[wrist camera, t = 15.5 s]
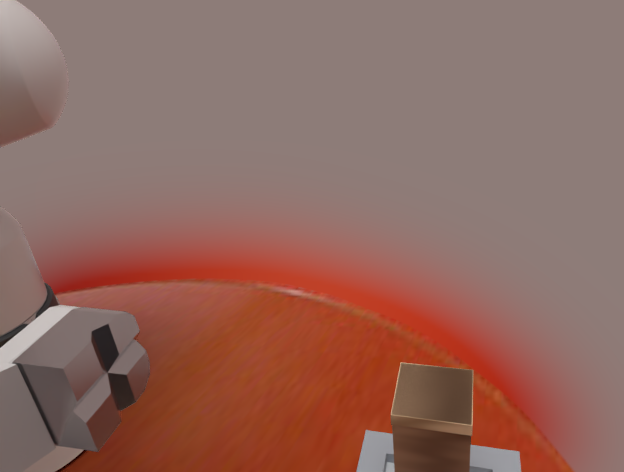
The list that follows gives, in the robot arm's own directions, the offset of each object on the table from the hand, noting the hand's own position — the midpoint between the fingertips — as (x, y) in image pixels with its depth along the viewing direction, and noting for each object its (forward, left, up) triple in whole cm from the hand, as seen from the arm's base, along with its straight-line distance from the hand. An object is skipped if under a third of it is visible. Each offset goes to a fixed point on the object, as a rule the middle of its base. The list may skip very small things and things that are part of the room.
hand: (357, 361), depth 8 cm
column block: (0, +18, -30) cm, 35 cm away
